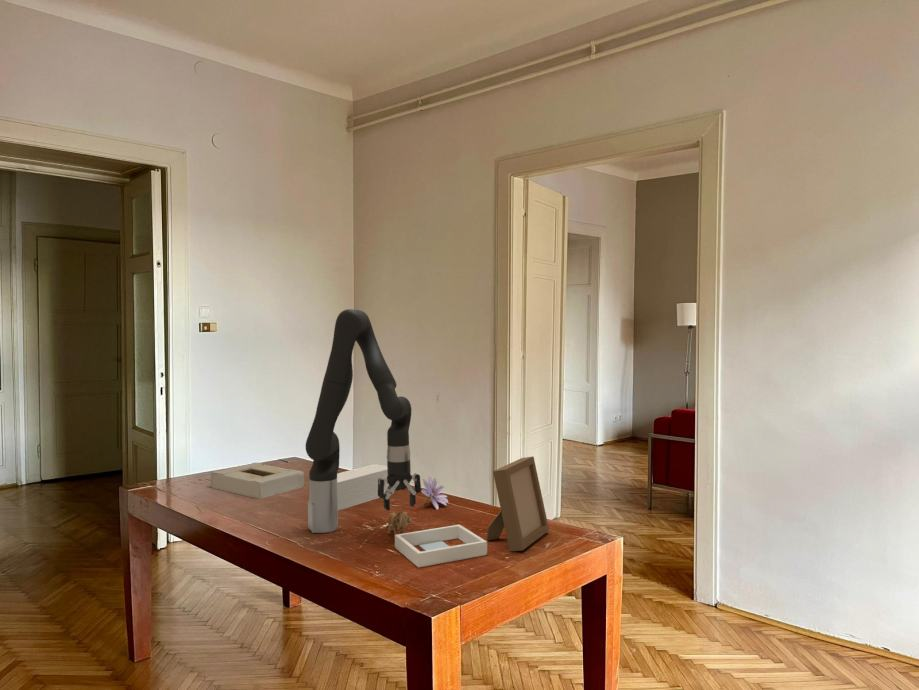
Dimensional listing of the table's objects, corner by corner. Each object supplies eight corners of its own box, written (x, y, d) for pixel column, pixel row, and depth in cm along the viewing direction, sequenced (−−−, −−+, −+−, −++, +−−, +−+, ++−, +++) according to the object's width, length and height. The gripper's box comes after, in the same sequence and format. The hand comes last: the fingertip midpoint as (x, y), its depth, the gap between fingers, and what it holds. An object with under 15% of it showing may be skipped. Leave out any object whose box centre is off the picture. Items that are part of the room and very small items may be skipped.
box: (305, 488, 281) (255, 477, 298) (304, 469, 280) (254, 460, 298) (260, 501, 261) (210, 489, 279) (260, 482, 261) (209, 471, 279)
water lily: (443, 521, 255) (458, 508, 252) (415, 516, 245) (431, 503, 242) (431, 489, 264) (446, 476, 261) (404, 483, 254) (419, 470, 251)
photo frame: (549, 533, 220) (549, 458, 219) (522, 553, 201) (522, 471, 200) (508, 526, 227) (508, 453, 226) (478, 545, 208) (478, 466, 207)
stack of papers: (375, 489, 276) (374, 463, 276) (394, 493, 270) (393, 467, 270) (315, 507, 251) (314, 479, 250) (334, 512, 244) (334, 483, 244)
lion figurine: (414, 539, 214) (414, 512, 213) (399, 542, 211) (399, 514, 210) (392, 527, 226) (392, 501, 226) (378, 530, 223) (378, 503, 223)
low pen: (418, 567, 190) (418, 553, 190) (394, 547, 206) (394, 534, 206) (487, 554, 200) (487, 541, 200) (459, 536, 216) (459, 524, 216)
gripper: (382, 463, 210) (383, 514, 211) (423, 458, 216) (424, 507, 217) (373, 459, 217) (375, 508, 217) (414, 454, 223) (415, 502, 224)
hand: (399, 508), depth 217 cm, fingers open, 8 cm apart
